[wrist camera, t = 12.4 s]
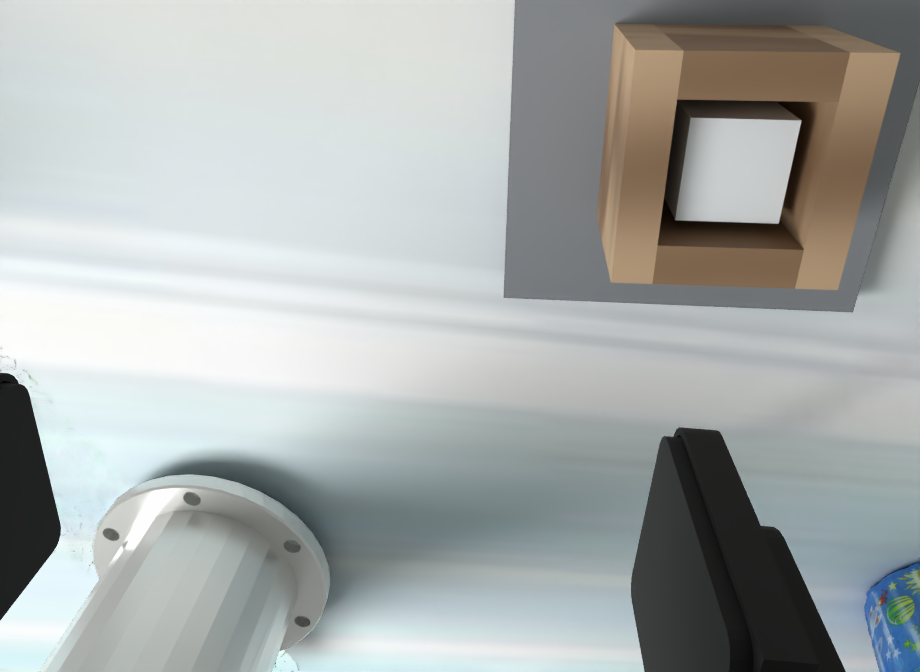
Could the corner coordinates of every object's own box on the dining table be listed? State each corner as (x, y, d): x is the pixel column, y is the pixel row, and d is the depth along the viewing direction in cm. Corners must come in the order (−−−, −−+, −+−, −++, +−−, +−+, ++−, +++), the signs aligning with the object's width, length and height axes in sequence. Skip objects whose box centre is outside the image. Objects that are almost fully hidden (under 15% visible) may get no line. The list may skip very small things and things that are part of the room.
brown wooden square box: (782, 222, 29) (837, 290, 24) (596, 217, 29) (610, 282, 24) (824, 25, 25) (900, 52, 20) (614, 23, 26) (635, 50, 21)
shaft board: (839, 295, 32) (906, 378, 26) (504, 282, 33) (499, 359, 27) (945, -88, 25) (1067, -90, 19) (519, -90, 26) (516, -93, 20)
